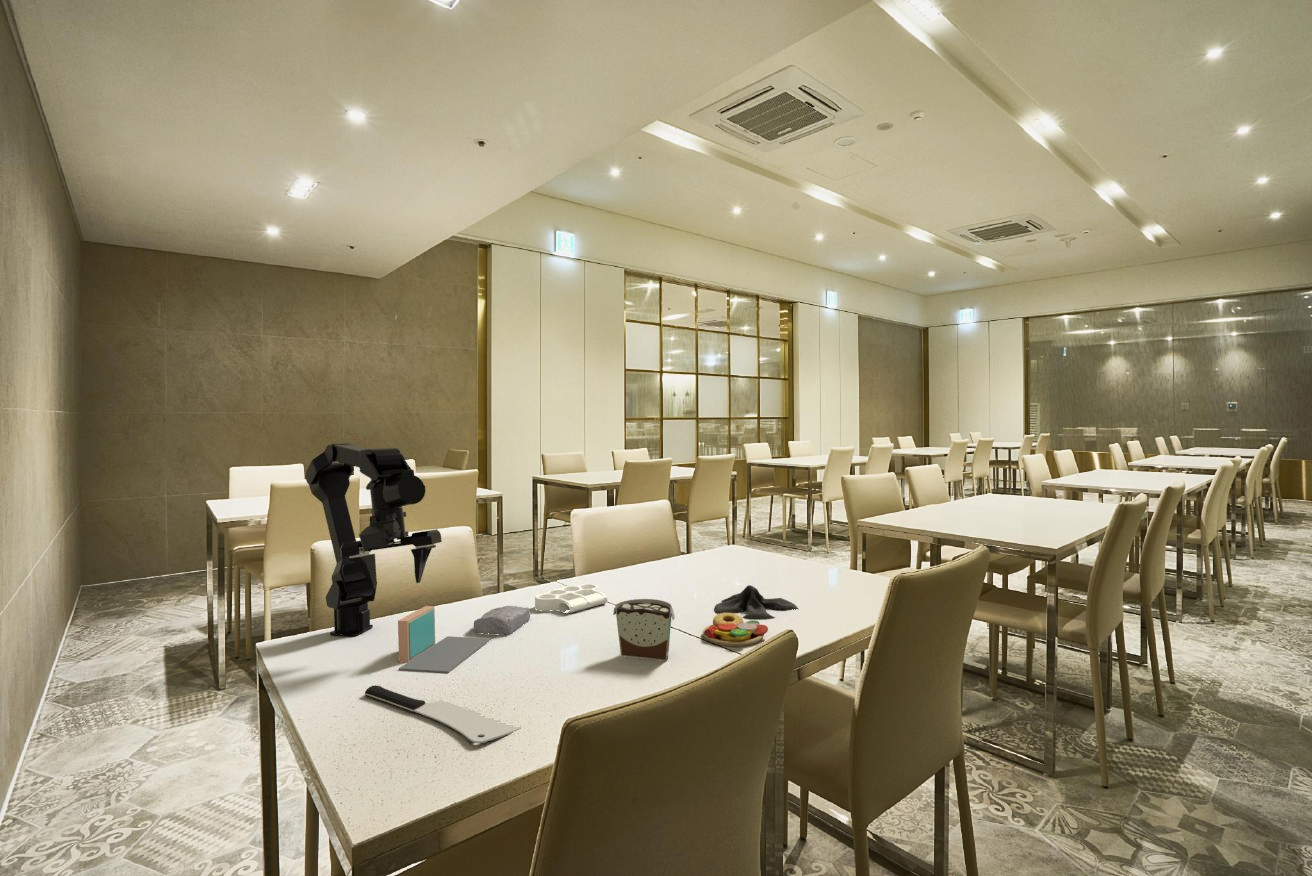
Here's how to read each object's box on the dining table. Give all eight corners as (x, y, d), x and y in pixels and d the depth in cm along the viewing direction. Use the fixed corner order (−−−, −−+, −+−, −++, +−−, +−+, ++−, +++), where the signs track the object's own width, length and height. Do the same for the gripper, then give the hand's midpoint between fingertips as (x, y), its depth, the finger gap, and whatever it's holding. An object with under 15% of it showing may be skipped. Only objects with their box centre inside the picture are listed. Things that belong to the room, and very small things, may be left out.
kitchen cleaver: (532, 718, 98) (481, 738, 90) (532, 730, 98) (480, 750, 89) (408, 676, 115) (355, 689, 107) (407, 686, 115) (354, 699, 107)
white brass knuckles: (559, 619, 150) (524, 607, 160) (617, 603, 162) (581, 593, 173) (558, 605, 150) (524, 594, 160) (617, 590, 162) (581, 580, 173)
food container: (683, 650, 127) (682, 600, 127) (674, 662, 121) (673, 609, 121) (625, 644, 131) (624, 596, 131) (613, 655, 125) (612, 604, 125)
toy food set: (722, 624, 144) (722, 609, 144) (777, 634, 137) (776, 619, 137) (690, 641, 133) (690, 625, 133) (748, 653, 126) (747, 637, 126)
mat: (398, 670, 119) (398, 668, 119) (447, 637, 137) (447, 636, 137) (448, 672, 118) (448, 671, 118) (491, 639, 135) (491, 638, 135)
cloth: (806, 606, 158) (805, 581, 158) (775, 627, 142) (775, 599, 142) (725, 594, 170) (725, 571, 170) (689, 612, 155) (689, 586, 155)
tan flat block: (398, 661, 124) (397, 620, 124) (426, 644, 134) (425, 606, 134) (409, 662, 123) (408, 621, 123) (436, 644, 133) (435, 606, 133)
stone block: (471, 643, 139) (513, 636, 138) (466, 621, 140) (508, 613, 138) (495, 627, 151) (534, 621, 149) (491, 607, 151) (530, 600, 149)
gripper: (320, 517, 123) (329, 599, 122) (415, 503, 123) (424, 585, 121) (351, 515, 134) (359, 589, 133) (438, 502, 134) (447, 577, 132)
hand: (396, 586), depth 130 cm, fingers open, 9 cm apart
